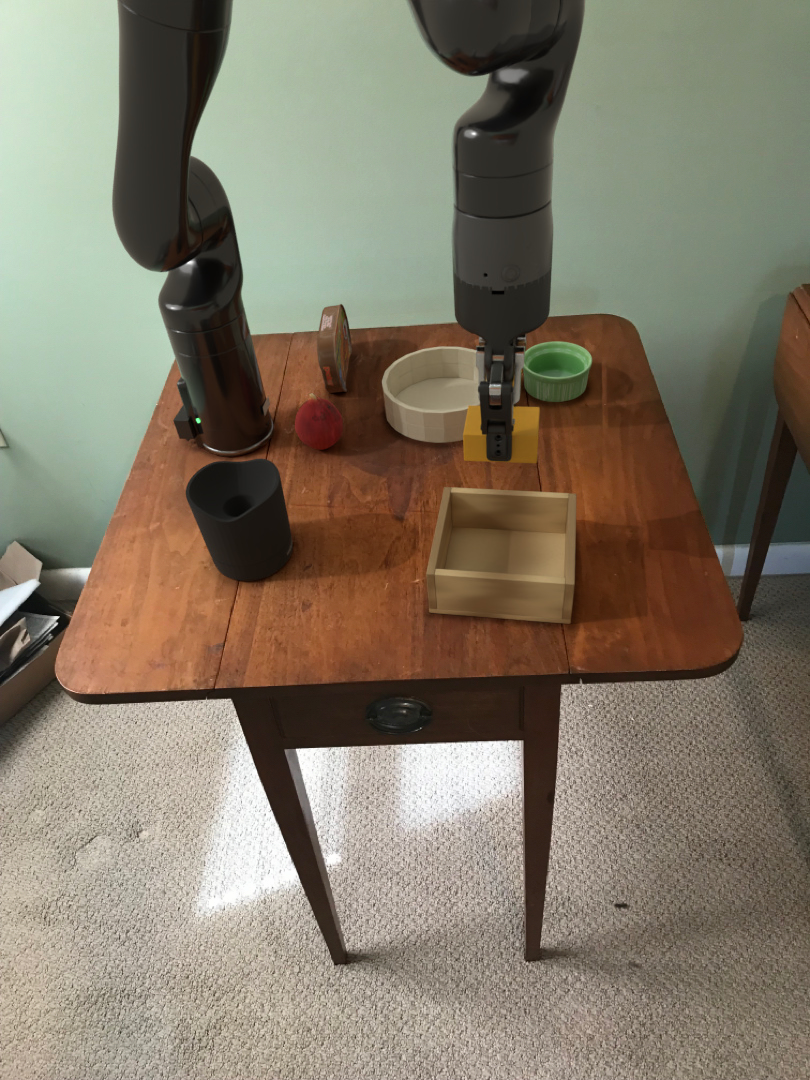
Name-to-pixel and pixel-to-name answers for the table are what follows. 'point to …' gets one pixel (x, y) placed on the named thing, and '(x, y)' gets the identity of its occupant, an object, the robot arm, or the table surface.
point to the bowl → (431, 393)
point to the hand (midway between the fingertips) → (501, 441)
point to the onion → (318, 423)
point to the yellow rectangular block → (521, 436)
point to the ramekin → (556, 371)
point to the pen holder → (242, 517)
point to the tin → (334, 347)
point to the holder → (504, 555)
